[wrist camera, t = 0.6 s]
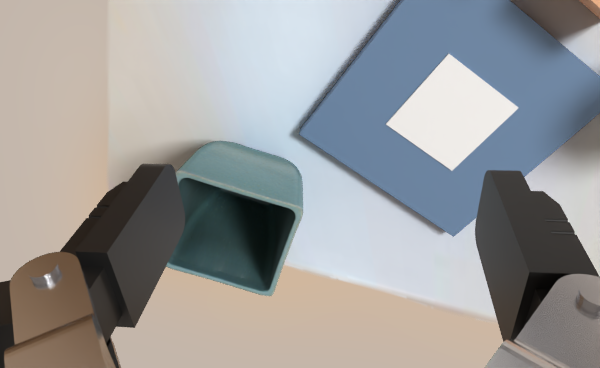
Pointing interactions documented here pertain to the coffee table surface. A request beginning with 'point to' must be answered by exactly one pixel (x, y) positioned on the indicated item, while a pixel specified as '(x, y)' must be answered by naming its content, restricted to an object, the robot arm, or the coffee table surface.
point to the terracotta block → (592, 6)
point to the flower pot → (237, 216)
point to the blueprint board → (453, 103)
